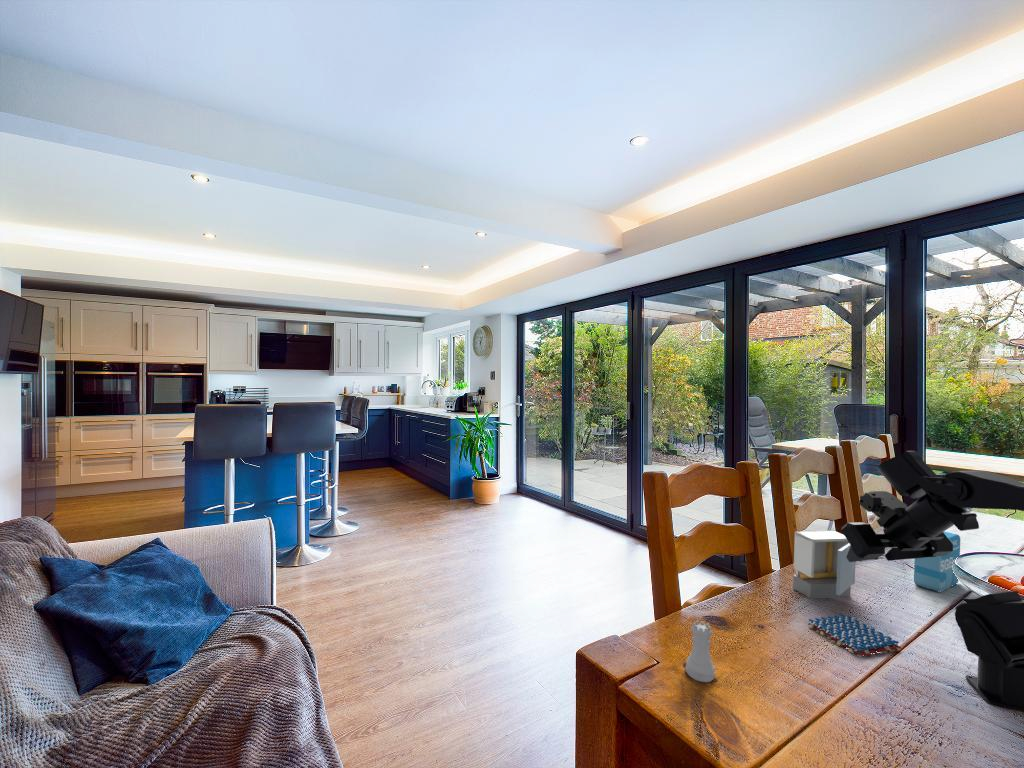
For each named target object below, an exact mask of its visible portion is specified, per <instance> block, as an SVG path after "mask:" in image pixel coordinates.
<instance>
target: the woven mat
mask: <svg viewBox="0 0 1024 768" xmlns="http://www.w3.org/2000/svg"><path fill="white" fill-rule="evenodd" d="M808 622H809V623H807V625H808V628H809V629H811V630H816V631H815V632H816V633H819V632H820V633H819V634H820V636H823V637H826V636H827V637H826V639H828V640H830V642H831V643H832V642H833V643H832V644H836V645H837V646H839V647H842V646H844V647H847V648H849V649H847V651H848V652H849V653H850V652H851V653H850V654H856V655H857V656H863V655H868V656H869V657H870V656H872V655H871V653H872V654H873V653H875V654H874V655H879V654H878V653H877V652H886V653H892V652H896V651H900V650H901V649H902V647H901V646H900V645H898V644H900V642H899V640H896V639H894V638H892V637H891V636H888V635H886V634H884V633H883V632H881V631H879V630H876V628H874V627H870V626H869V625H867V624H866V623H863V622H862V621H860V620H859V619H855V618H854V617H852V616H851V615H846V614H843V613H840V615H836V614H835V615H833V616H830V615H828V616H827V617H824V616H822V617H821V618H817V617H815V619H811V618H808ZM810 622H811V623H810ZM834 642H836V643H834ZM846 644H847V645H846ZM840 645H842V646H840ZM844 647H843V648H844ZM876 651H877V652H876ZM854 652H856V653H854ZM857 656H856V657H857ZM868 656H867V657H868Z"/></svg>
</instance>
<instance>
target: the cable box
mask: <svg viewBox="0 0 1024 768" xmlns="http://www.w3.org/2000/svg"><path fill="white" fill-rule="evenodd" d="M848 543H849V542H848V540H847V539H846V537H845V536H844V534H843V533H842V532H838V531H836V530H812V531H811V530H808V531H807V530H806V531H805V530H804V531H803V530H801V531H794V545H793V546H794V547H793V550H794V551H793V569H794V570H795V574H793V575H792V589H794V590H795V591H797V592H799V593H800V594H802V595H804V596H805V597H807V598H808V599H811V600H812V599H824V598H825V599H827V598H830V599H831V598H843V597H845V598H846V597H848V598H849V597H851V591H852V590H851V589H852V588H851V587H852V586H850V587H849V588H848V589H847V590H846V591H844V592H843V593H842V594H841V595H837V594H836V584H837V557H838V550H839V549H841V548H842V547H844V546H845V545H847V544H848Z"/></svg>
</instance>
